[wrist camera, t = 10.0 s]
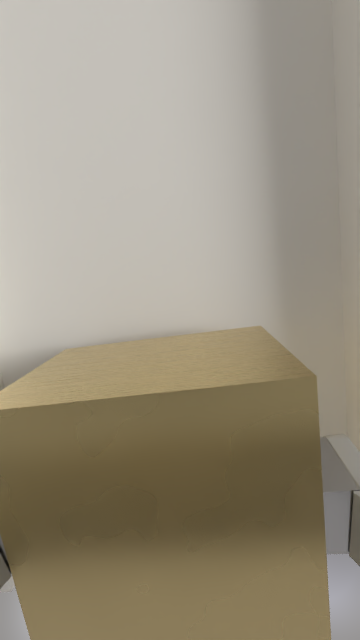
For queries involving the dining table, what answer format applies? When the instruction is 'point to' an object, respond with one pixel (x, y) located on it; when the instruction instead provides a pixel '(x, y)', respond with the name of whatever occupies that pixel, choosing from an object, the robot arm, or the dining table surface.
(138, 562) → the block
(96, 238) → the beam
